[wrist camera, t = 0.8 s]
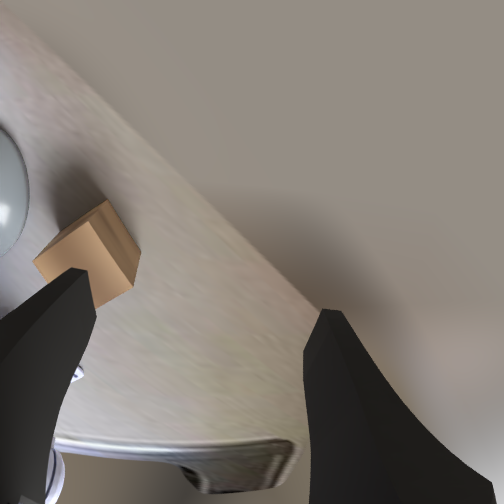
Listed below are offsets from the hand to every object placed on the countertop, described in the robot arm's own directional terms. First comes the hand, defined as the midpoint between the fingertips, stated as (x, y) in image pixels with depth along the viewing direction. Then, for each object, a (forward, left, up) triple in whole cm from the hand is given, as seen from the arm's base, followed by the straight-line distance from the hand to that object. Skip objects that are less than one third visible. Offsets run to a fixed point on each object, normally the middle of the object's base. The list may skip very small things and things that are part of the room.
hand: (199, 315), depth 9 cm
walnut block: (-8, +1, -16) cm, 18 cm away
